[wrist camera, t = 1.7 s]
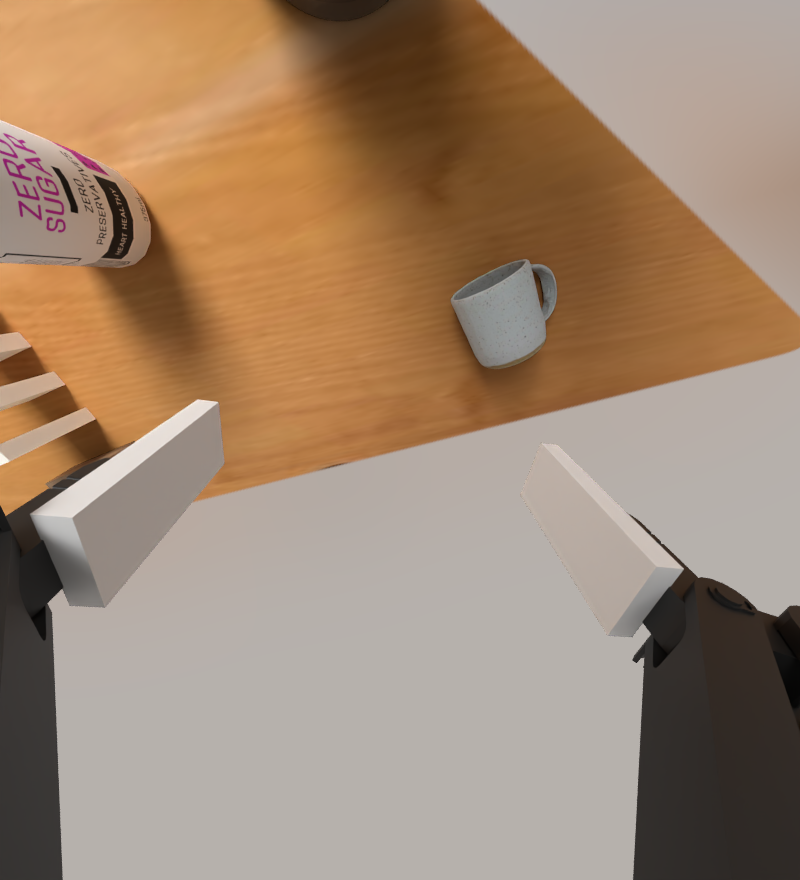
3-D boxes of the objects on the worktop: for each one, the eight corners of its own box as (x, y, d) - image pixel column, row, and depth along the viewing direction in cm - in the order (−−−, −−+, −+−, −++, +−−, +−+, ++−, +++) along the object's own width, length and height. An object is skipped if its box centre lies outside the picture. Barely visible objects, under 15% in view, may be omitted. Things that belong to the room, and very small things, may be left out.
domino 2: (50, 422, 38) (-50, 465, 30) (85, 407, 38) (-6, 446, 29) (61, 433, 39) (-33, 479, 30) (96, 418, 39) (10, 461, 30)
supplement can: (36, 200, 29) (-254, 133, 16) (98, 138, 28) (-167, 7, 14) (116, 285, 33) (-69, 289, 19) (175, 234, 31) (18, 199, 18)
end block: (74, 466, 41) (45, 483, 38) (134, 441, 40) (109, 457, 36) (98, 490, 43) (72, 509, 39) (156, 467, 42) (135, 484, 38)
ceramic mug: (473, 364, 38) (495, 382, 31) (442, 298, 35) (459, 301, 28) (559, 316, 36) (603, 324, 30) (536, 241, 33) (578, 230, 26)
